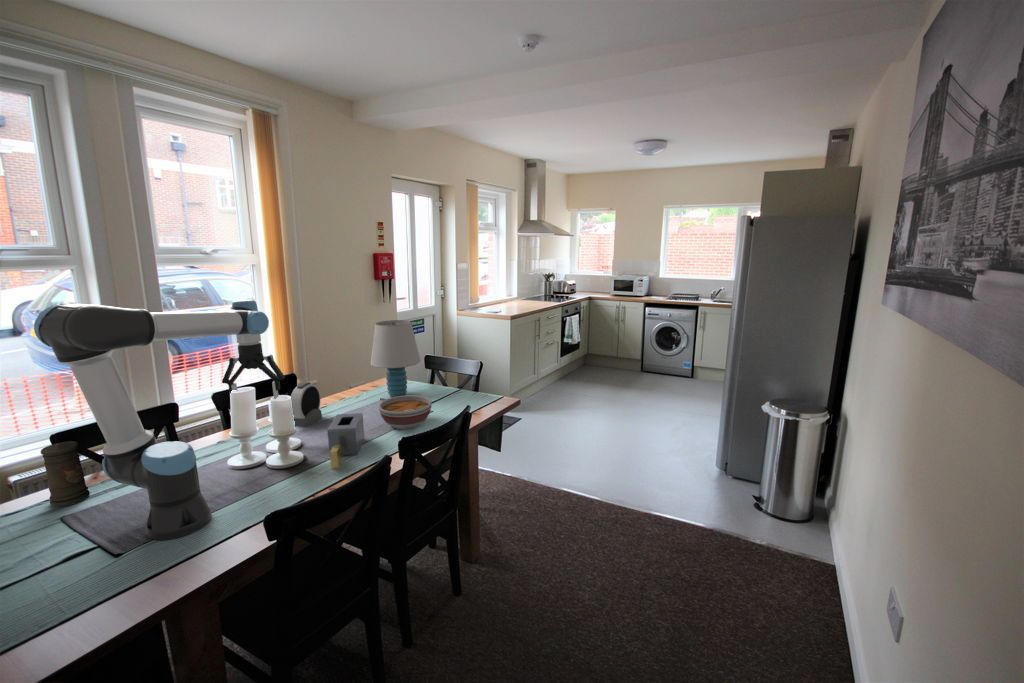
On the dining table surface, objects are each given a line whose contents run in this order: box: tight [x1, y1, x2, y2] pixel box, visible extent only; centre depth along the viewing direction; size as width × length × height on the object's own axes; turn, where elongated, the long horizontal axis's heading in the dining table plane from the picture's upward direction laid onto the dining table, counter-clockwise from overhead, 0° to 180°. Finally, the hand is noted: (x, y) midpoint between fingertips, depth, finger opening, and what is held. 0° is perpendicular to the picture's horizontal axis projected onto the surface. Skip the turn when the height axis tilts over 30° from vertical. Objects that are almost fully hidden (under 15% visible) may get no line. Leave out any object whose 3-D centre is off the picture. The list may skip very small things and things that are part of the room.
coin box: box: [326, 412, 365, 457], centre depth 182 cm, size 10×16×11 cm, turn 8°
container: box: [40, 440, 91, 508], centre depth 145 cm, size 9×9×18 cm
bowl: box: [378, 394, 433, 430], centre depth 206 cm, size 23×23×10 cm
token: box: [329, 445, 343, 470], centre depth 168 cm, size 6×2×6 cm, turn 8°
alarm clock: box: [290, 381, 323, 428], centre depth 209 cm, size 16×10×18 cm, turn 171°
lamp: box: [370, 319, 421, 398], centre depth 243 cm, size 25×25×39 cm
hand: (256, 400), depth 170 cm, fingers open, 13 cm apart
